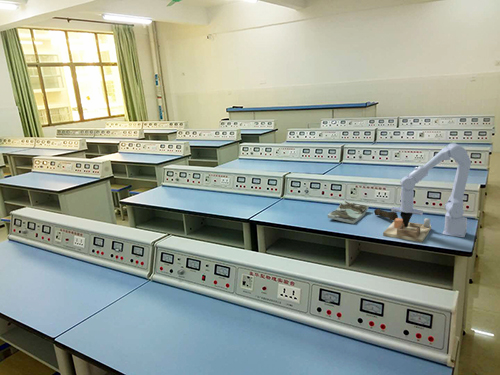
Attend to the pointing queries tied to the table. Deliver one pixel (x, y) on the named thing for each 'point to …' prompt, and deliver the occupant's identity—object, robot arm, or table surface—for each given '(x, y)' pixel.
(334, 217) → the topographical model
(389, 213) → the hand tool
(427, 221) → the grey peg
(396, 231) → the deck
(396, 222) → the terracotta block
